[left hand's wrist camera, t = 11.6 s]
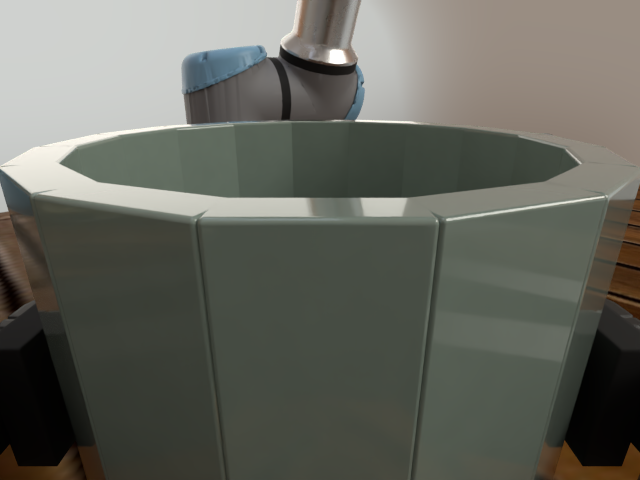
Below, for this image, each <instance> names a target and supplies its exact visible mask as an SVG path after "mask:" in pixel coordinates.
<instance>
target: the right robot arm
mask: <svg viewBox="0 0 640 480" xmlns="http://www.w3.org/2000/svg"><path fill="white" fill-rule="evenodd" d="M360 3H361V0H297V7H296V14H295V21H294V28H293V30H292V31H291V32H290V33H289V34H287V35H286V36H285V37H283V38H282V40H281V46H280V53H279V57H278V58H269V57H266V56H267V53H266V51H265V48H264V47H263V46H261V45H259V46H245V47H235V48H226V49H218V50H210V51H204V52H197V53H192V54H190V55H188V56H186V57H185V58H184V60H183V62H182V94H184V102H185V110H186V119H187V125H188V124H202V123H217V122H236V121H267V120H356V118H357V117H358V115H359V113H360V110H361V107H362V104H363V100H364V91H365V89H364V88H363V87H362V84H363V83H364V78H363V74H362V72H361V70H360V68H359V67H358V65H357V60H358V56H357V54H356V52H355V50H354V48H353V47H352V44H351V41H352V37H353V33H354V29H355V25H356V20H357V16H358V11H359V8H360Z"/></svg>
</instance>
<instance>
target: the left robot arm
mask: <svg viewBox="0 0 640 480" xmlns="http://www.w3.org/2000/svg"><path fill="white" fill-rule="evenodd" d="M75 440H76V439H75V435H74V432H73V428H72V425H71V422H70V418H69V415H68V411H67V408H66V405H65V401H64V398H63V394H62V391H61V388H60V384H59V381H58V377H57V374H56V370H55V367H54V364H53V360H52V357H51V353H50V350H49V347H48V343H47V340H46V336H45V333H44V330H43V326H42V323H41V319H40V316H39V313H38V309H37V306H36V302H35V300H34V301H31V302H29V303H27V304H25V305H23V306H22V307H21V308H19V309H18V310H17V311H15V312H14V313H13V314H11V315H10V316H9V317H8V319H5V320H3V321H2V322H1V323H0V455H1V453H2V452H3V451H4V450H5V449H6V448H7V446H8V445H9V444H10V445H11V448H12V450H13V453H14V456H15V458H16V461H17V464H18V466H58V464H59V463H60V461H61V460H62V459H63V457H64V456H65V454H66V453H67V451H68V450H69V448H70V447H71V446H72V444H73V443H74V441H75ZM565 441H566V442H567V444H568V445H569V447H570V448H571V450H572V451H573V453H574V454H575V456H576V457H577V458H578V460H579V461H580V463H581V464H582V466H622V464H623V461H624V459H625V456H626V453H627V451H628V448H629V445H630V443H632V444H633V445H634V446H635V447H636V449H637V450H638V451H639V452H640V320H638V319H637V318H633V315H631V314H630V313H629V312H627V311H626V310H625V309H623V308H622V307H620V306H619V305H618V304H616V303H614V302H612V301H610V300H608V299H606V300H605V303H604V306H603V310H602V313H601V317H600V320H599V324H598V327H597V330H596V334H595V337H594V341H593V344H592V347H591V351H590V354H589V358H588V361H587V364H586V368H585V371H584V375H583V378H582V382H581V385H580V388H579V392H578V395H577V399H576V402H575V405H574V409H573V412H572V416H571V419H570V422H569V426H568V429H567V433H566V436H565ZM638 480H640V475H639V477H638Z"/></svg>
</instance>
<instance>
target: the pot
mask: <svg viewBox="0 0 640 480" xmlns="http://www.w3.org/2000/svg"><path fill="white" fill-rule="evenodd" d="M0 183H1V187H2V190H3V193H4V197H5V200H6V204H7V207H8V210H9V214H10V217H11V221H12V224H13V227H14V231H15V234H16V238H17V241H18V244H19V248H20V251H21V255H22V258H23V262H24V265H25V268H26V272H27V275H28V279H29V282H30V285H31V289H32V292H33V296H34V299H35V302H36V306H37V309H38V313H39V316H40V319H41V323H42V326H43V330H44V333H45V336H46V340H47V343H48V347H49V350H50V353H51V357H52V360H53V364H54V367H55V370H56V374H57V377H58V381H59V384H60V388H61V391H62V394H63V398H64V401H65V405H66V408H67V411H68V415H69V418H70V422H71V425H72V428H73V432H74V435H75V439H76V442H77V445H78V449H79V452H80V456H81V459H82V462H83V466H84V469H85V473H86V476H87V479H88V480H553V477H554V474H555V470H556V467H557V463H558V460H559V457H560V453H561V450H562V446H563V443H564V440H565V436H566V433H567V429H568V426H569V422H570V419H571V416H572V412H573V409H574V405H575V402H576V399H577V395H578V392H579V388H580V385H581V382H582V378H583V375H584V371H585V368H586V364H587V361H588V358H589V354H590V351H591V347H592V344H593V341H594V337H595V334H596V330H597V327H598V324H599V320H600V317H601V313H602V310H603V306H604V303H605V300H606V296H607V293H608V289H609V286H610V283H611V279H612V276H613V272H614V269H615V266H616V262H617V259H618V255H619V252H620V248H621V245H622V242H623V238H624V235H625V231H626V228H627V225H628V221H629V218H630V214H631V211H632V208H633V204H634V201H635V197H636V194H637V191H638V187H639V184H640V167H638V166H636V165H635V164H633V163H631V162H629V161H628V160H626V159H624V158H622V157H621V156H619V155H617V154H616V153H614V152H612V151H610V150H609V149H607V148H605V147H603V146H599V145H594V144H589V143H585V142H580V141H575V140H571V139H566V138H562V137H557V136H552V135H548V134H539V133H531V132H523V131H514V130H506V129H498V128H489V127H478V126H469V125H454V124H440V123H425V122H408V121H376V120H267V121H236V122H217V123H202V124H188V125H173V126H163V127H160V126H159V127H151V128H143V129H134V130H126V131H117V132H109V133H101V134H95V135H90V136H86V137H81V138H76V139H72V140H67V141H62V142H58V143H53V144H48V145H44V146H40V147H34V148H32V149H30V150H29V151H27V152H25V153H23V154H21V155H20V156H18V157H16V158H14V159H13V160H11V161H9V162H7V163H5V164H3V165H2V166H0Z"/></svg>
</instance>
